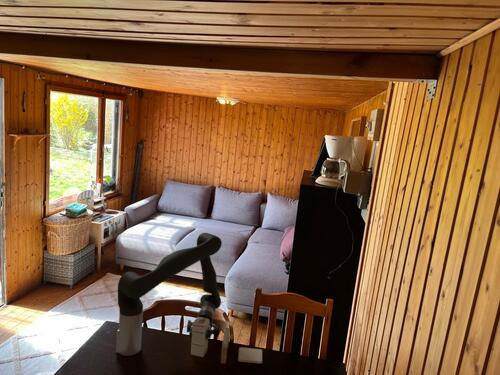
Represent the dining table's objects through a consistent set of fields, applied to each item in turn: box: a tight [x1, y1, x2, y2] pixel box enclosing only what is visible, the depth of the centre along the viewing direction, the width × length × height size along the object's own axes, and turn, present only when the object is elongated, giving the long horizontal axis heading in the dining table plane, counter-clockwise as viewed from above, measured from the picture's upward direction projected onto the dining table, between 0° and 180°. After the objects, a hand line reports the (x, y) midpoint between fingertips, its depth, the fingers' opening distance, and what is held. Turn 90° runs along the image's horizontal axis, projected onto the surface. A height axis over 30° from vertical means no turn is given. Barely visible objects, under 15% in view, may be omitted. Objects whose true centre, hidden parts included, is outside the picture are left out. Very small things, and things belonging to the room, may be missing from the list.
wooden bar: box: [221, 327, 231, 349], centre depth 152 cm, size 2×12×2 cm, turn 178°
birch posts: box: [220, 331, 231, 364], centre depth 152 cm, size 2×13×7 cm, turn 178°
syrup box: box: [190, 317, 209, 358], centre depth 152 cm, size 6×6×14 cm
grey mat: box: [237, 347, 263, 365], centre depth 153 cm, size 10×8×1 cm
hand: (199, 336), depth 149 cm, fingers closed on syrup box, 6 cm apart
